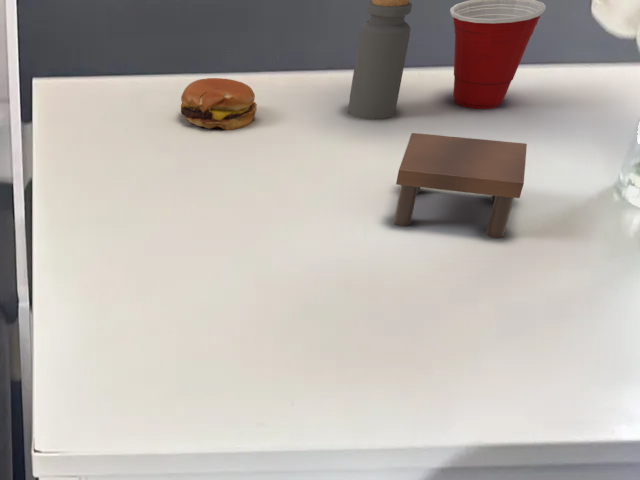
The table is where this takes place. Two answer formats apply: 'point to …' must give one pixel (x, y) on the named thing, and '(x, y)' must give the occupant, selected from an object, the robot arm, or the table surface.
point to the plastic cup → (490, 47)
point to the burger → (218, 103)
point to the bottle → (380, 60)
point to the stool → (462, 173)
